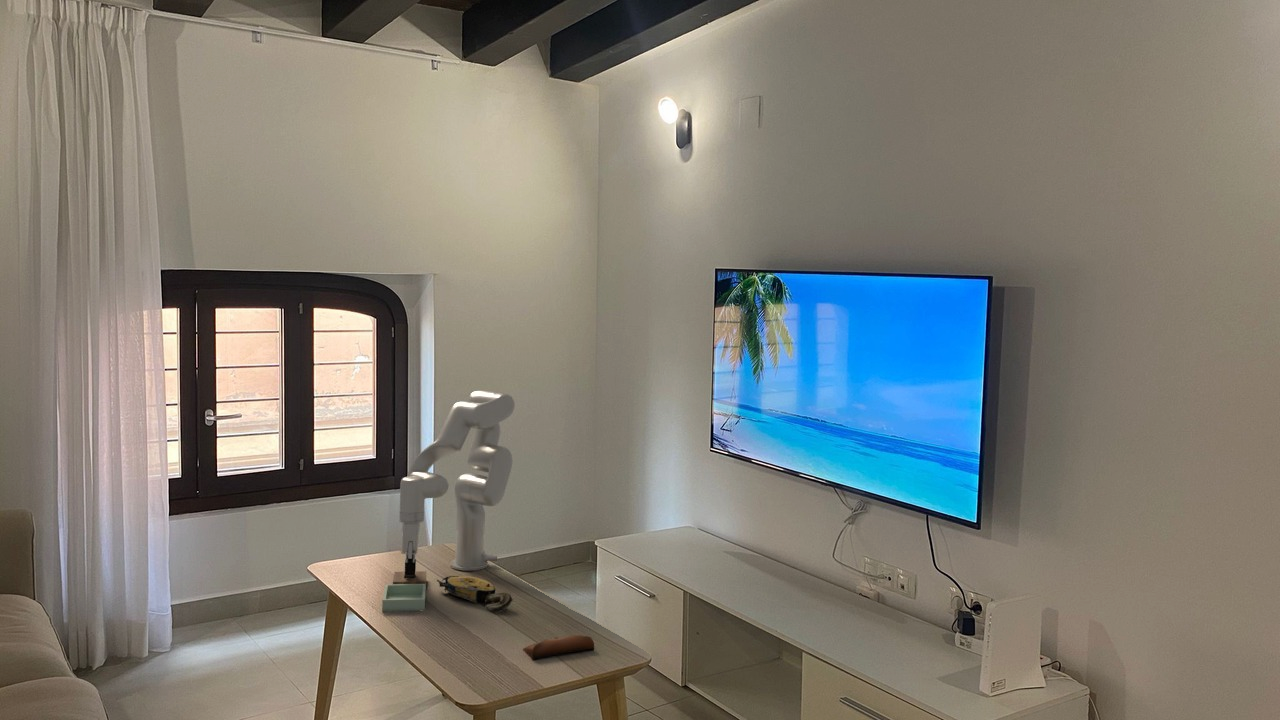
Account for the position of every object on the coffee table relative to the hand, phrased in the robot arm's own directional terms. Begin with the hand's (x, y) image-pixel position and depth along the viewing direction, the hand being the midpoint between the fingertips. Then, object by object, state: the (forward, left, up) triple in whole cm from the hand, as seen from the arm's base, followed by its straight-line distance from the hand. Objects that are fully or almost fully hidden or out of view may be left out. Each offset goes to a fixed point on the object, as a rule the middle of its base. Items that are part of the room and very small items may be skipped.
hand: (410, 572), depth 300 cm
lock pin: (0, 0, -4) cm, 4 cm away
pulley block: (-21, +14, -5) cm, 26 cm away
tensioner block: (0, 0, -4) cm, 4 cm away
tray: (+1, +16, -4) cm, 17 cm away
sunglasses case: (-41, +55, -5) cm, 69 cm away
